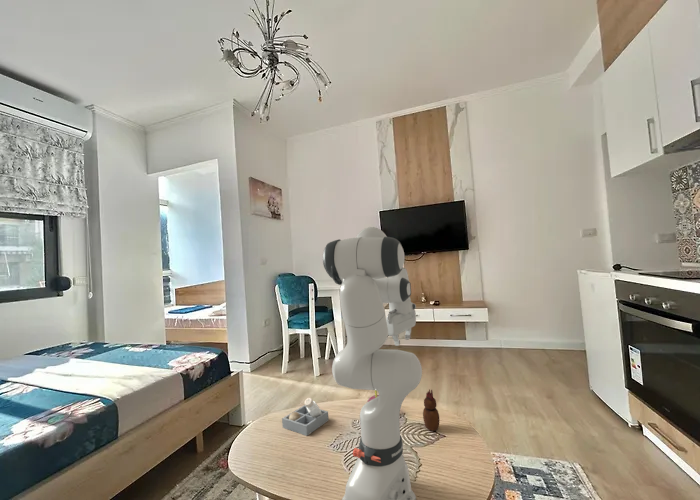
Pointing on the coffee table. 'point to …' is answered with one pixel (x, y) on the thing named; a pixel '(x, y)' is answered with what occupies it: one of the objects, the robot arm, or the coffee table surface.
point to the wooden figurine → (430, 412)
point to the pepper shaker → (312, 408)
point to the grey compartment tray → (305, 421)
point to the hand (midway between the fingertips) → (402, 342)
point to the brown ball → (294, 416)
